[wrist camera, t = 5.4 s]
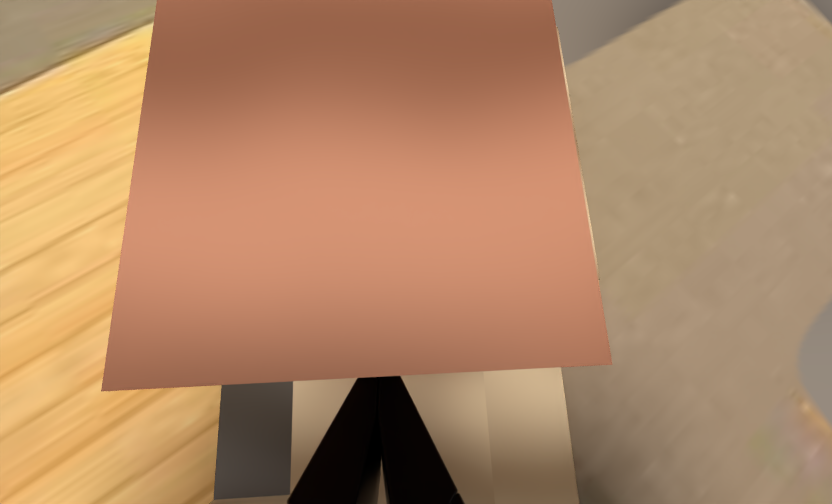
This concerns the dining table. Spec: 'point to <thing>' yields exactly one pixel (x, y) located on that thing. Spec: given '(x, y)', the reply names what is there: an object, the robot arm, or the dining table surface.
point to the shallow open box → (442, 415)
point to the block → (353, 197)
